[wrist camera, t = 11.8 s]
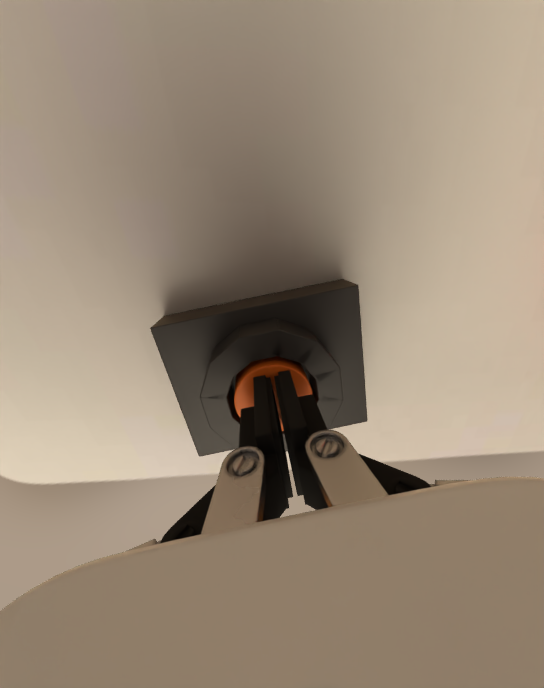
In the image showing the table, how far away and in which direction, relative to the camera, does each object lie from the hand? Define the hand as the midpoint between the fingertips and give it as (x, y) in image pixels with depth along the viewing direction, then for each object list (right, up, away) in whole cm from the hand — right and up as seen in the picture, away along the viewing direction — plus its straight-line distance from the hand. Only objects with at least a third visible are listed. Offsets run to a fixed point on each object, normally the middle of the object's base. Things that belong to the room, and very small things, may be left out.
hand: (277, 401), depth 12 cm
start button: (0, +1, +2) cm, 2 cm away
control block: (0, +2, +4) cm, 4 cm away
